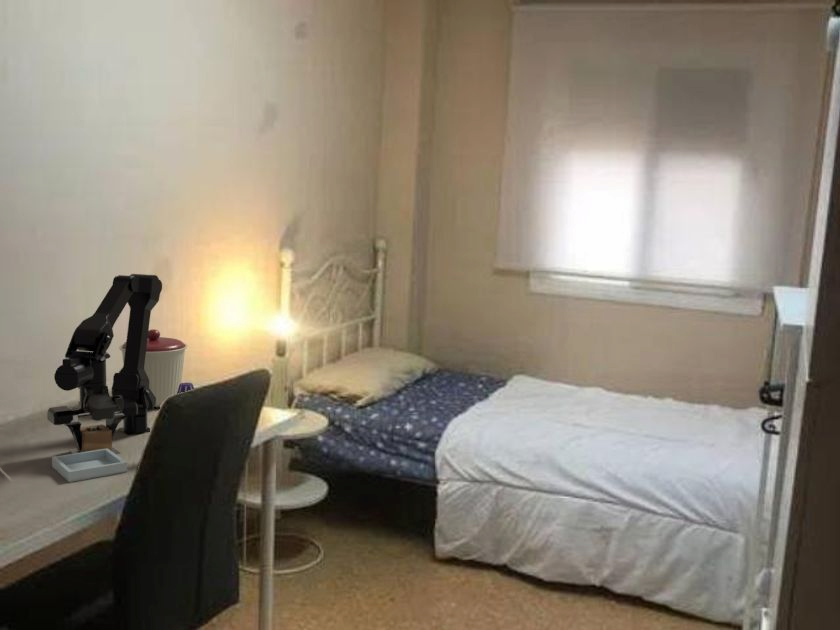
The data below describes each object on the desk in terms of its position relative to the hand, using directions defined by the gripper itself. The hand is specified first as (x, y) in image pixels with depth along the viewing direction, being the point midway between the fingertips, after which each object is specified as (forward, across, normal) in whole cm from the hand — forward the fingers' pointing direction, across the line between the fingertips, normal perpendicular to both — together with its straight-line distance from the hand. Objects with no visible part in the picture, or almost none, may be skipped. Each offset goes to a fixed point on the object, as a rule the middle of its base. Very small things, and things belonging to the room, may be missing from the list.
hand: (94, 447), depth 203 cm
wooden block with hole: (+1, 0, +1) cm, 1 cm away
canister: (+2, +28, +36) cm, 46 cm away
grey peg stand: (+1, 0, 0) cm, 1 cm away
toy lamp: (+2, +17, -12) cm, 21 cm away
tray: (+1, -5, -12) cm, 13 cm away
